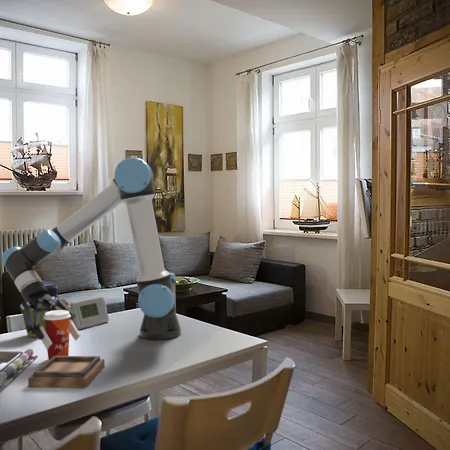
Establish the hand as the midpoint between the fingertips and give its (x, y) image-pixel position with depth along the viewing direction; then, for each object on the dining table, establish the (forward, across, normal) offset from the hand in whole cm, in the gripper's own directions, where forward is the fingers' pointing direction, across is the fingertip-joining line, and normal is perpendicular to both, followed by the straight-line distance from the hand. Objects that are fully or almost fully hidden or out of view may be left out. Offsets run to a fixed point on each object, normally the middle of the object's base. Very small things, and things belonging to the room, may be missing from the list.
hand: (64, 342), depth 155 cm
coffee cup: (+2, 0, -6) cm, 7 cm away
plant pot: (-19, -14, -28) cm, 36 cm away
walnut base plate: (+13, +8, +4) cm, 16 cm away
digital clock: (-15, -34, -24) cm, 44 cm away
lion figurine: (-24, -34, -33) cm, 53 cm away
